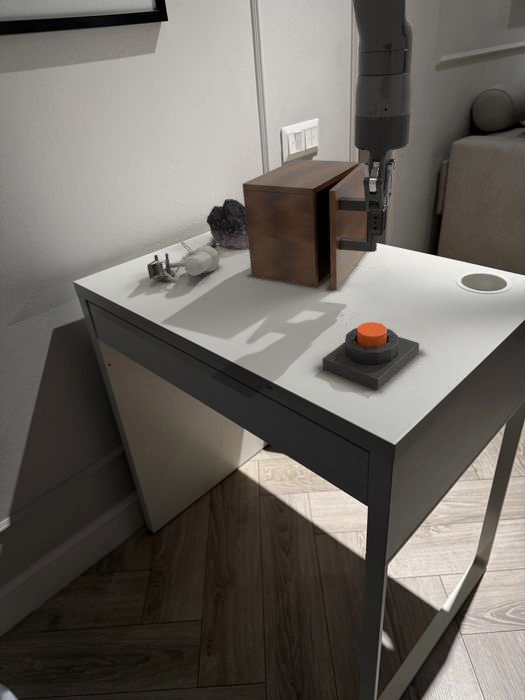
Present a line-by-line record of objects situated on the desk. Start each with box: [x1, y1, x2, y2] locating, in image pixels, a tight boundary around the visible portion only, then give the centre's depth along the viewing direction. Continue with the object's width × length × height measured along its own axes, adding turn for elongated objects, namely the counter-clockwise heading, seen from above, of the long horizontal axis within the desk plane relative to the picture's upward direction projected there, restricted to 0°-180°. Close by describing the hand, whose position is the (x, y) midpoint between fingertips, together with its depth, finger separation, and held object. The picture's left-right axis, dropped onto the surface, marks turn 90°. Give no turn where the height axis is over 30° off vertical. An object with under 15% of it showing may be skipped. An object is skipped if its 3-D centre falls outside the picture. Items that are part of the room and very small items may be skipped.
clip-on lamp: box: [146, 238, 221, 281], centre depth 98 cm, size 12×6×18 cm
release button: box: [356, 321, 388, 347], centre depth 65 cm, size 4×4×2 cm
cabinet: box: [242, 159, 361, 288], centre depth 92 cm, size 13×18×17 cm
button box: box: [322, 327, 420, 391], centre depth 66 cm, size 10×8×4 cm
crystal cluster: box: [206, 198, 249, 249], centre depth 110 cm, size 13×14×10 cm
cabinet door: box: [329, 162, 378, 291], centre depth 87 cm, size 7×18×17 cm, turn 156°
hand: (377, 231), depth 80 cm, fingers closed on cabinet door, 2 cm apart
